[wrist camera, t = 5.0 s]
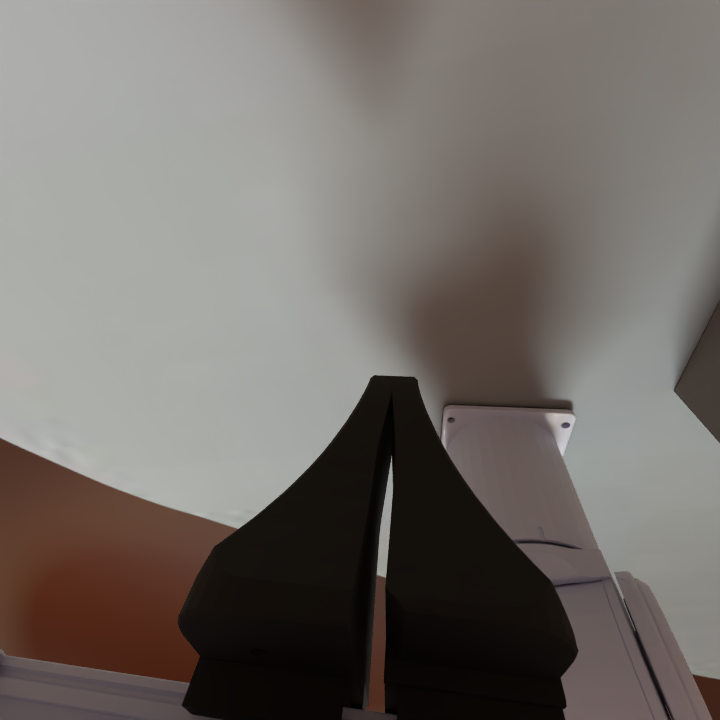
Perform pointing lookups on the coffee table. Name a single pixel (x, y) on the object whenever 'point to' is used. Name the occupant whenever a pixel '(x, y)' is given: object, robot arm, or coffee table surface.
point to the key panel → (704, 378)
